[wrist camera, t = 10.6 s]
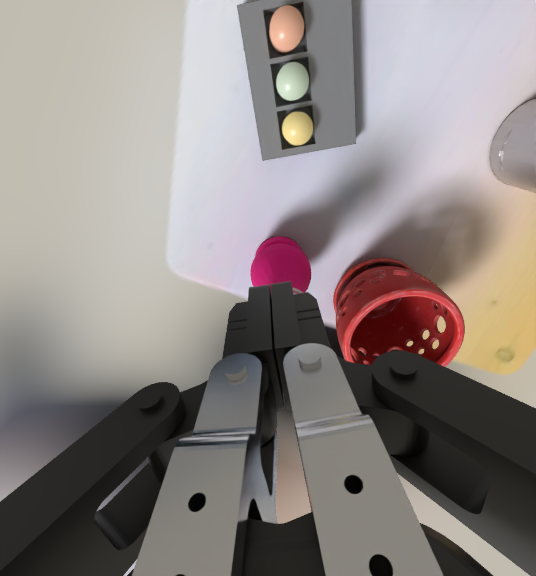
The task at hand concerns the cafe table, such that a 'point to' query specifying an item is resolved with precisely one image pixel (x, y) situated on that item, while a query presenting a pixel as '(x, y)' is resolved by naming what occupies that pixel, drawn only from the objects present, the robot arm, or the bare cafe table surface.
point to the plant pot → (394, 313)
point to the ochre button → (297, 128)
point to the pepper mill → (281, 264)
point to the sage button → (292, 81)
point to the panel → (319, 64)
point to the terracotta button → (286, 29)
